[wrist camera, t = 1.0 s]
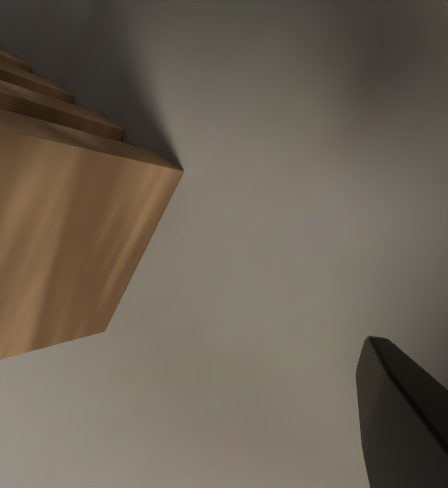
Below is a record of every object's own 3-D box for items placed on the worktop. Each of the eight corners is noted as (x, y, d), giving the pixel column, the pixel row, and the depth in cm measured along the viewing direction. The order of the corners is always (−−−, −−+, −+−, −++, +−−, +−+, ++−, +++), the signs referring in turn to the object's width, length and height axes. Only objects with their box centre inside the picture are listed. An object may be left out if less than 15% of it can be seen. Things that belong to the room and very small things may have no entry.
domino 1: (184, 171, 22) (-62, 114, 12) (105, 331, 25) (-145, 398, 15) (154, 151, 23) (-97, 82, 13) (81, 307, 26) (-168, 354, 16)
